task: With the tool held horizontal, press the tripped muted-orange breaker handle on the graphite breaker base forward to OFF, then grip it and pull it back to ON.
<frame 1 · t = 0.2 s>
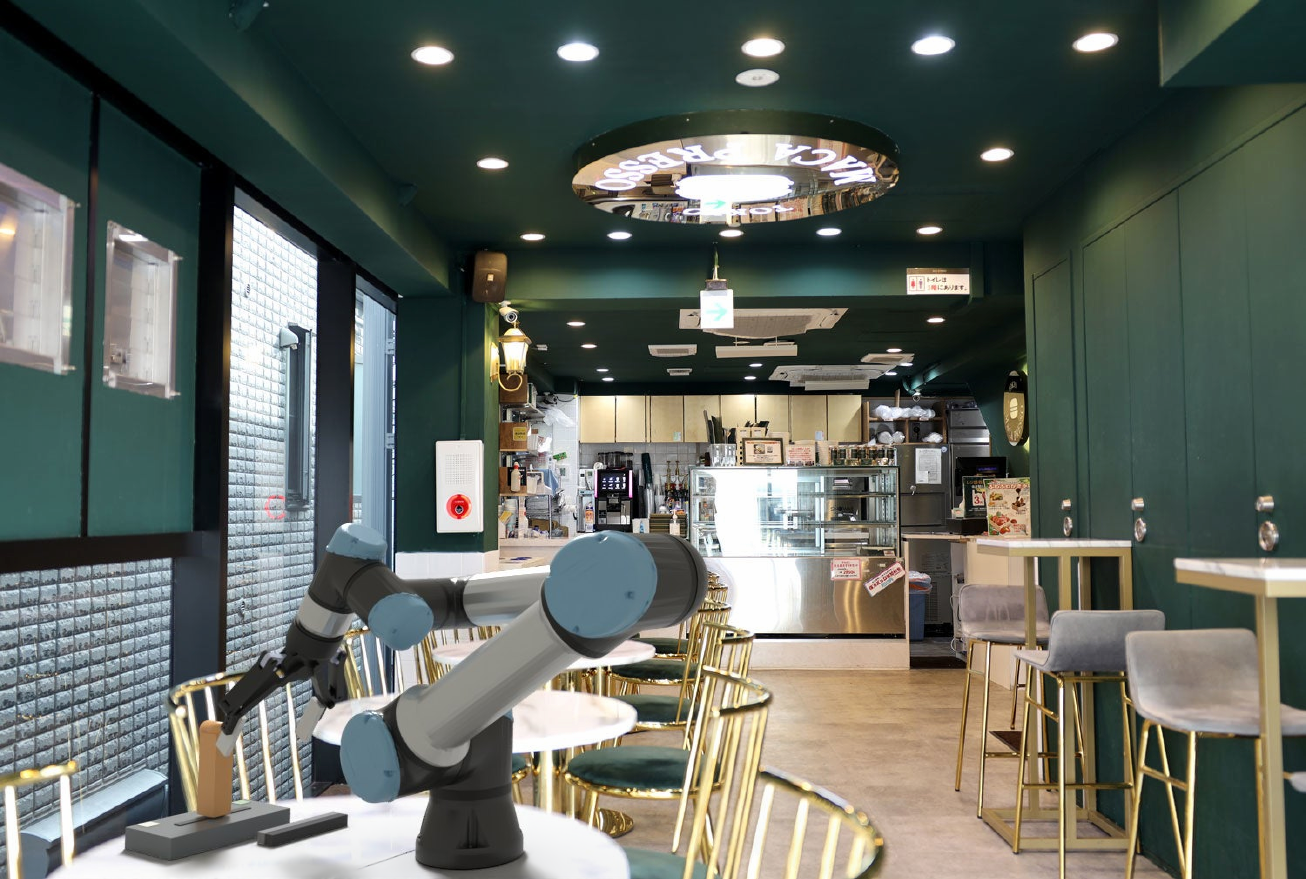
hand: (263, 743, 155), 14 cm above the table, tool tilted 35°, fingers open, 13 cm apart
breaker handle: (215, 767, 159), point 10 cm above the table, slide at 4.5 cm
grooved grey bar: (303, 833, 160), on the table
breaker base: (210, 837, 158), on the table
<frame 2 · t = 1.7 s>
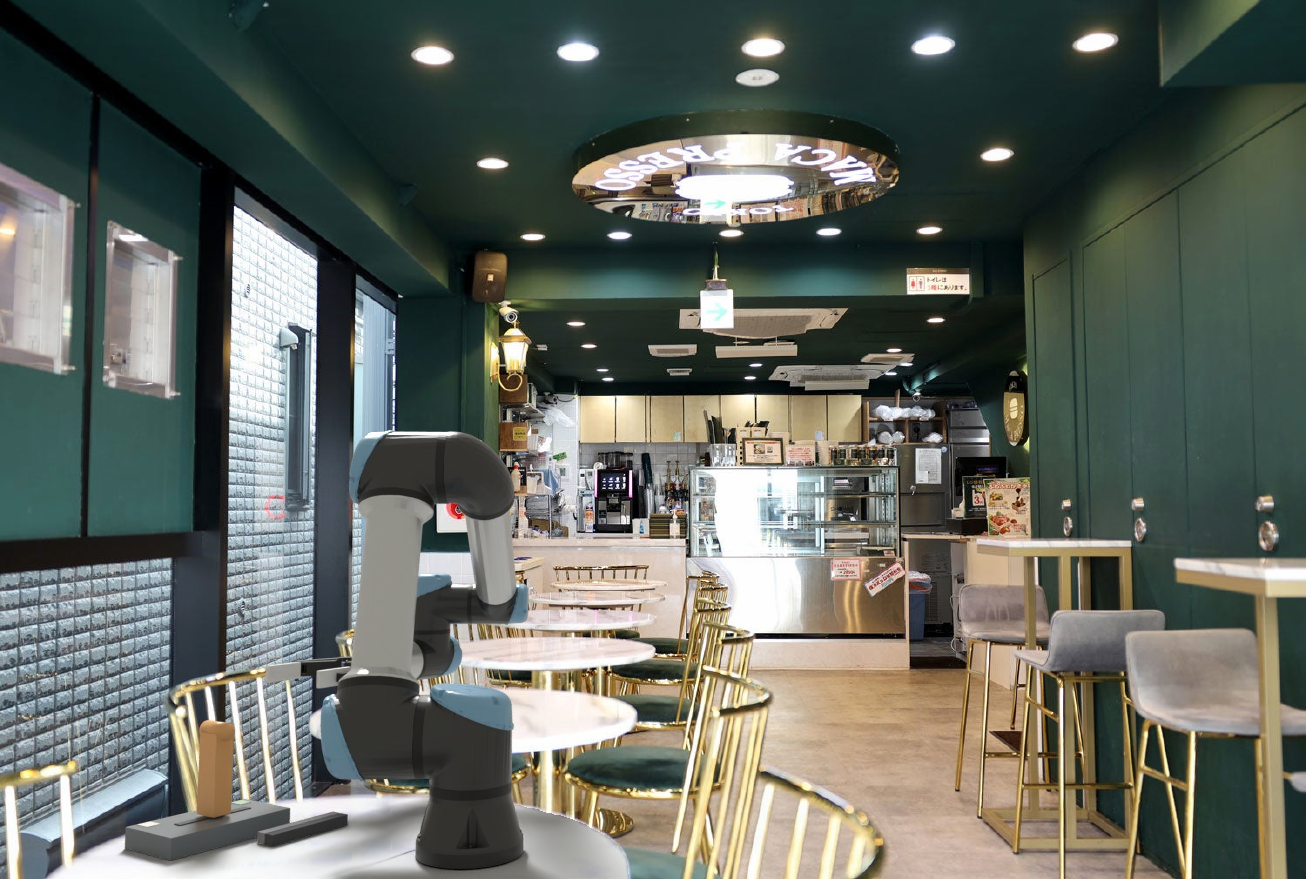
hand: (292, 676, 171), 22 cm above the table, tool horizontal, fingers open, 12 cm apart
nothing on the table moved.
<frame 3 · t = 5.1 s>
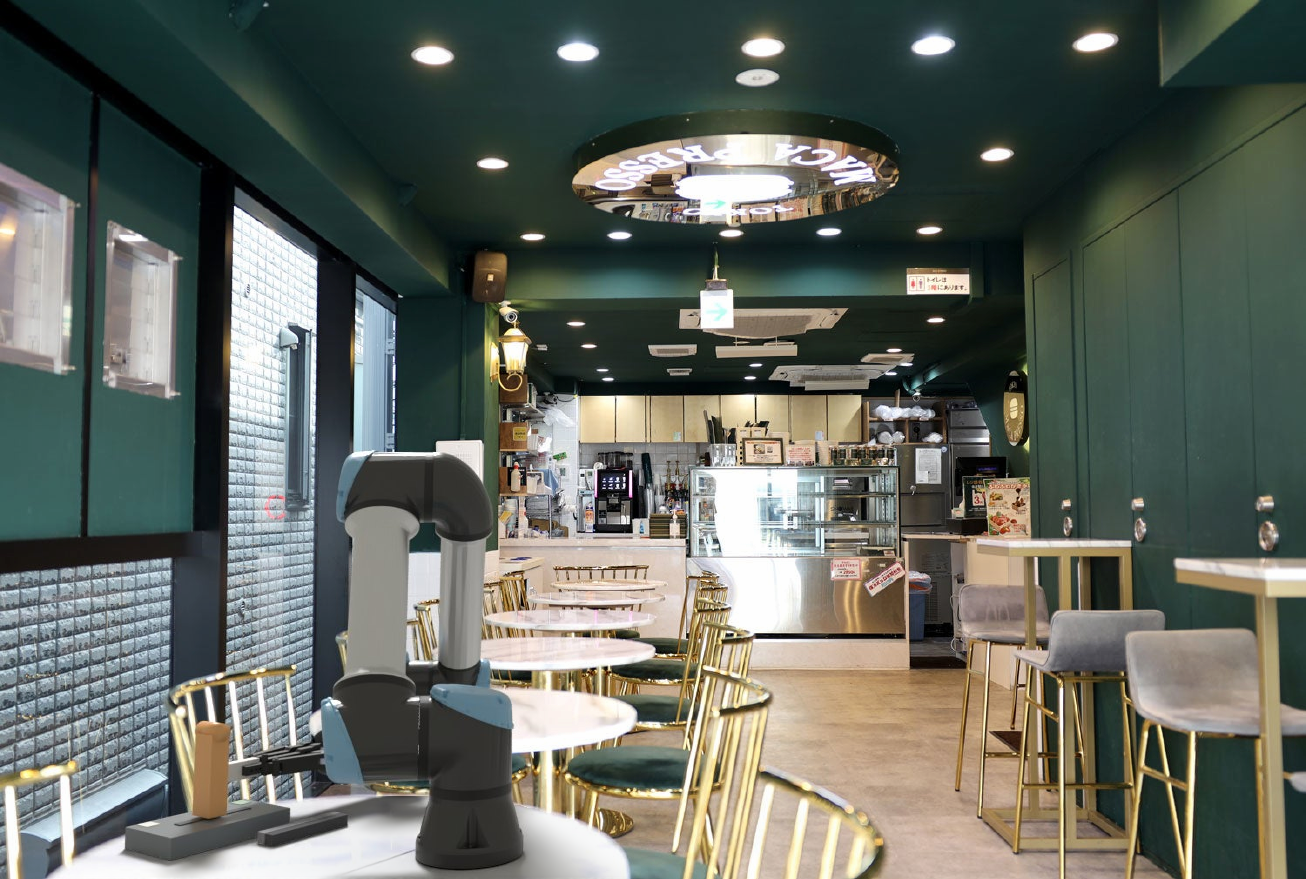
hand: (219, 773, 160), 9 cm above the table, tool horizontal, fingers closed
breaker handle: (211, 768, 158), point 10 cm above the table, slide at 5.2 cm, touching gripper
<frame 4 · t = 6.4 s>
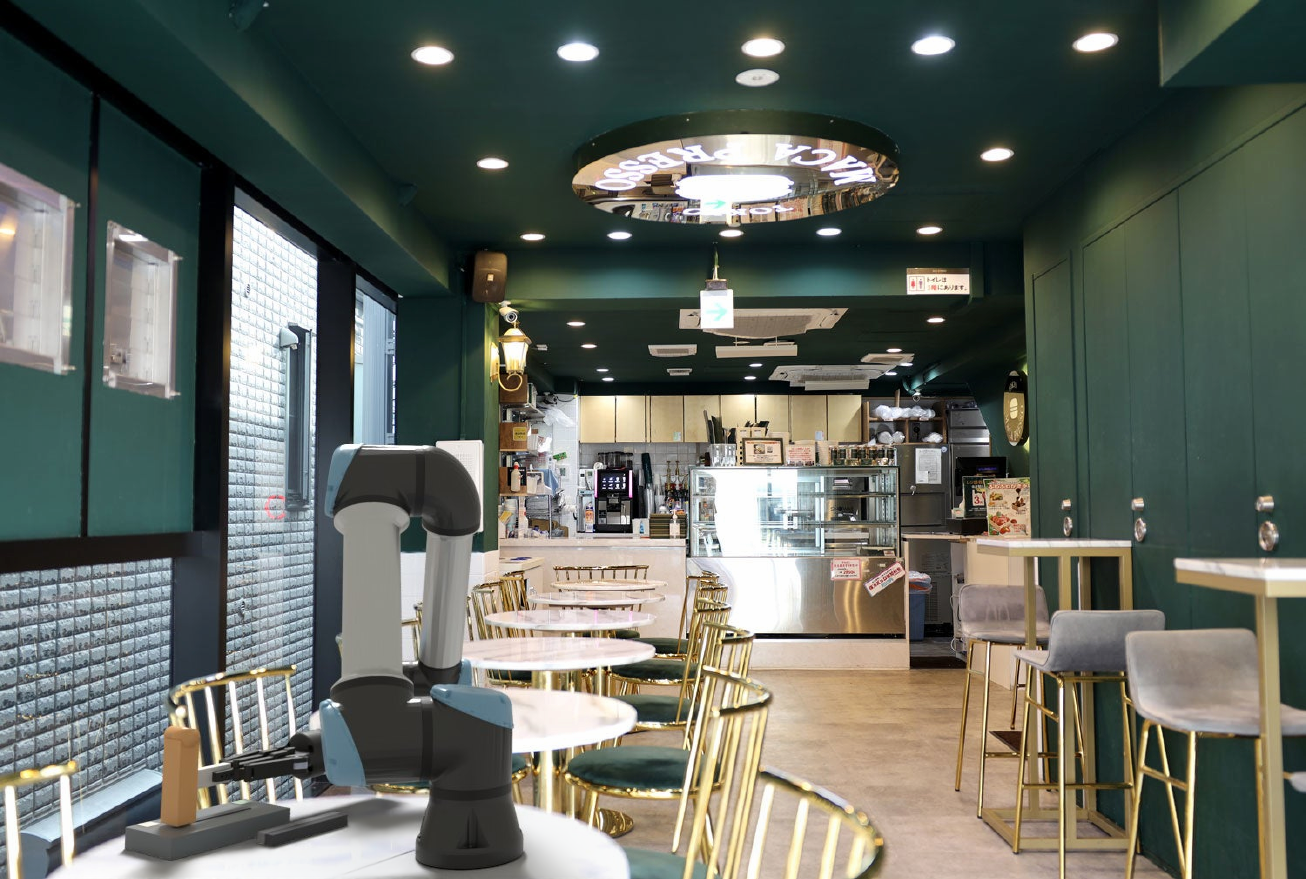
hand: (188, 780, 156), 9 cm above the table, tool horizontal, fingers closed
breaker handle: (180, 774, 154), point 10 cm above the table, slide at 10.3 cm, touching gripper
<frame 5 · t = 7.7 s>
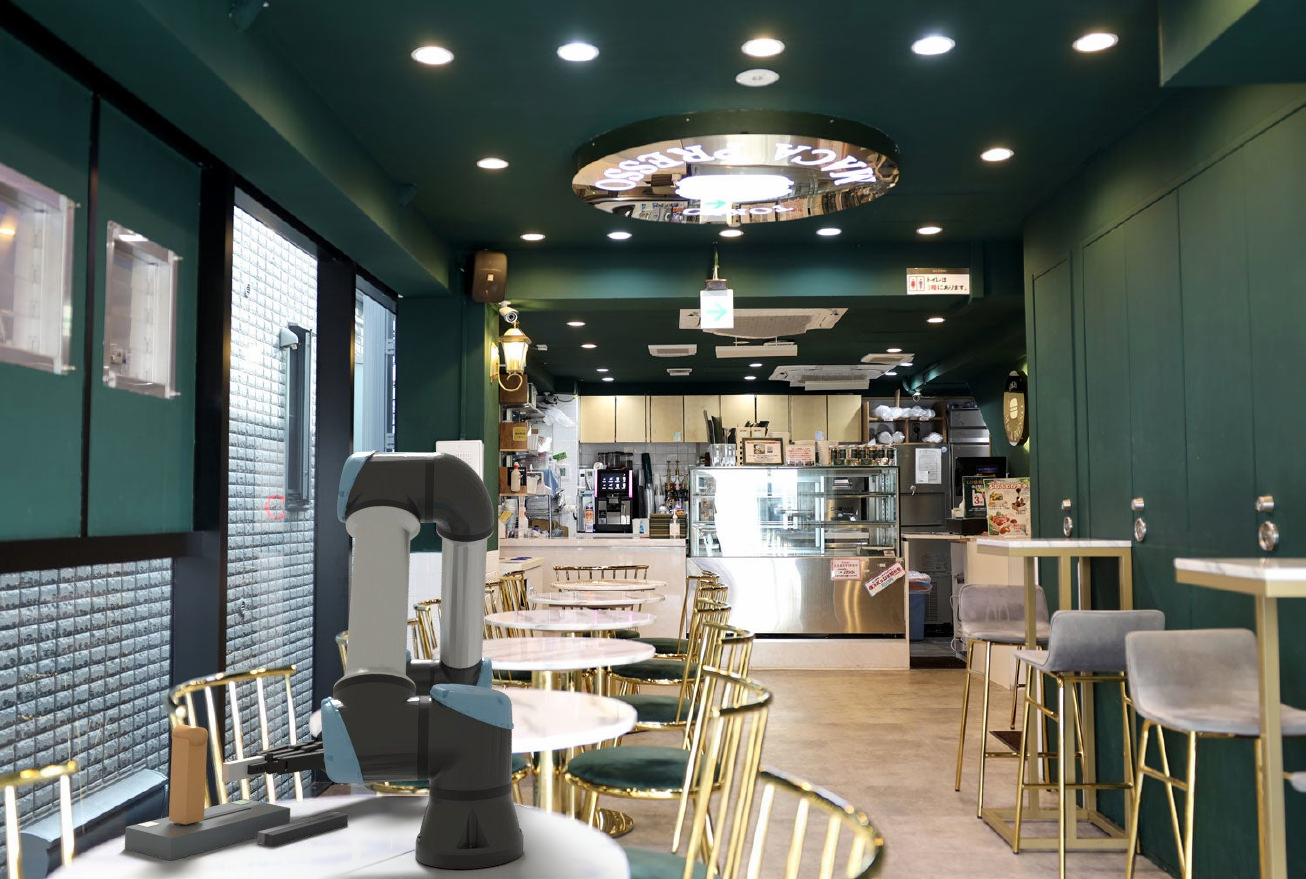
hand: (225, 772, 160), 9 cm above the table, tool horizontal, fingers closed
breaker handle: (188, 772, 155), point 10 cm above the table, slide at 9.0 cm
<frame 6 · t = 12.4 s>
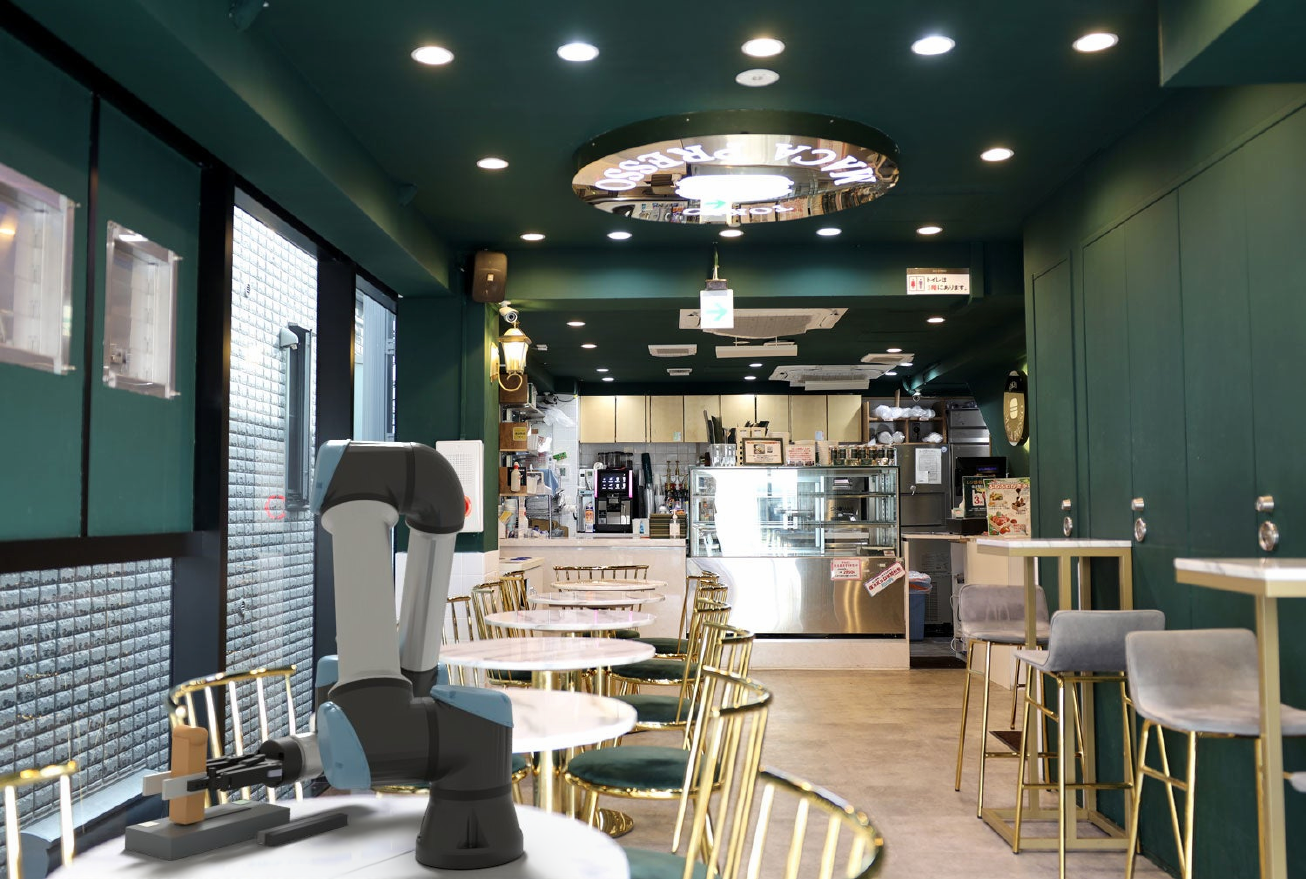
hand: (154, 787, 151), 9 cm above the table, tool horizontal, fingers closed on breaker handle, 4 cm apart
breaker handle: (188, 772, 155), point 10 cm above the table, slide at 9.0 cm, touching gripper
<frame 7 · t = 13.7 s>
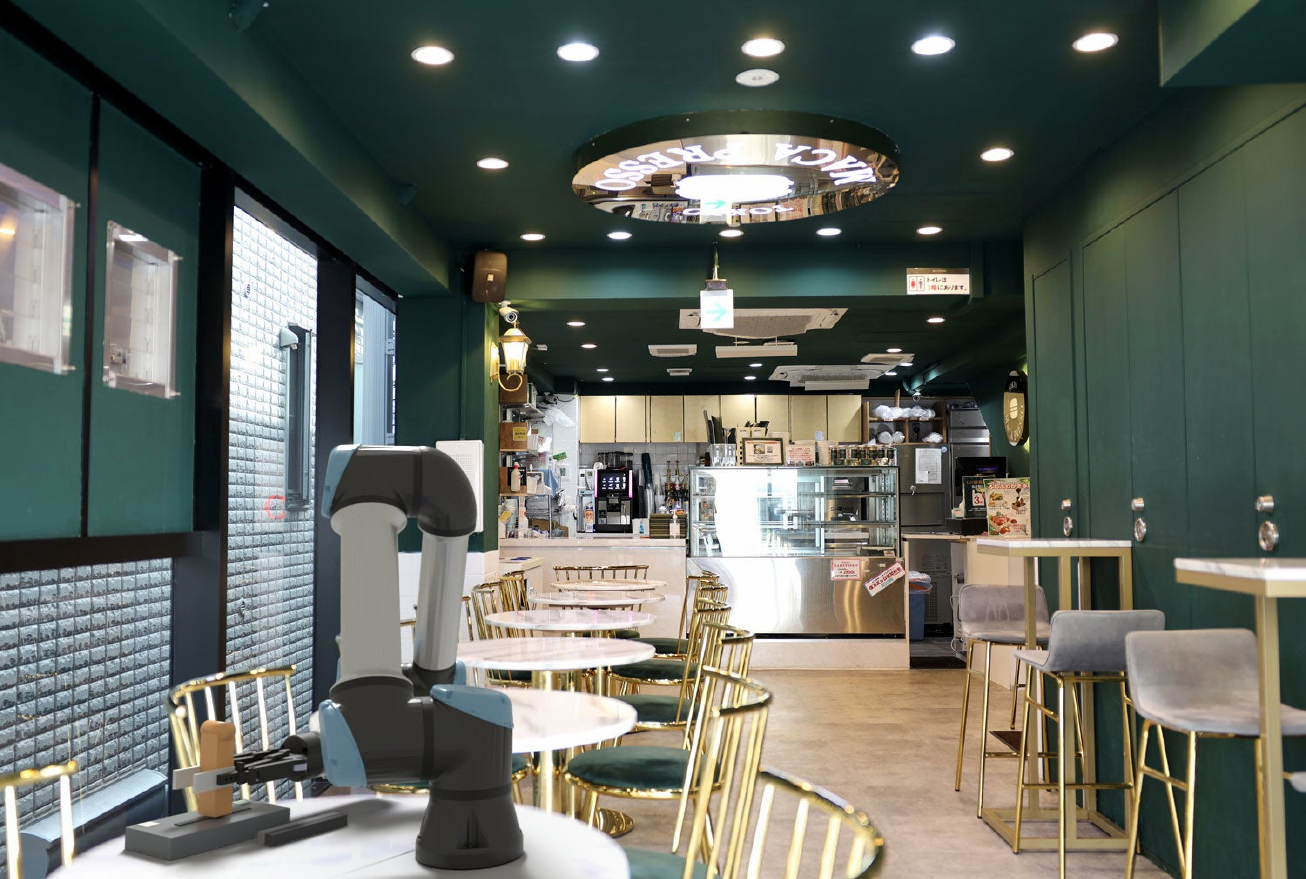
hand: (184, 781, 154), 9 cm above the table, tool horizontal, fingers closed on breaker handle, 4 cm apart
breaker handle: (216, 767, 159), point 10 cm above the table, slide at 4.3 cm, touching gripper
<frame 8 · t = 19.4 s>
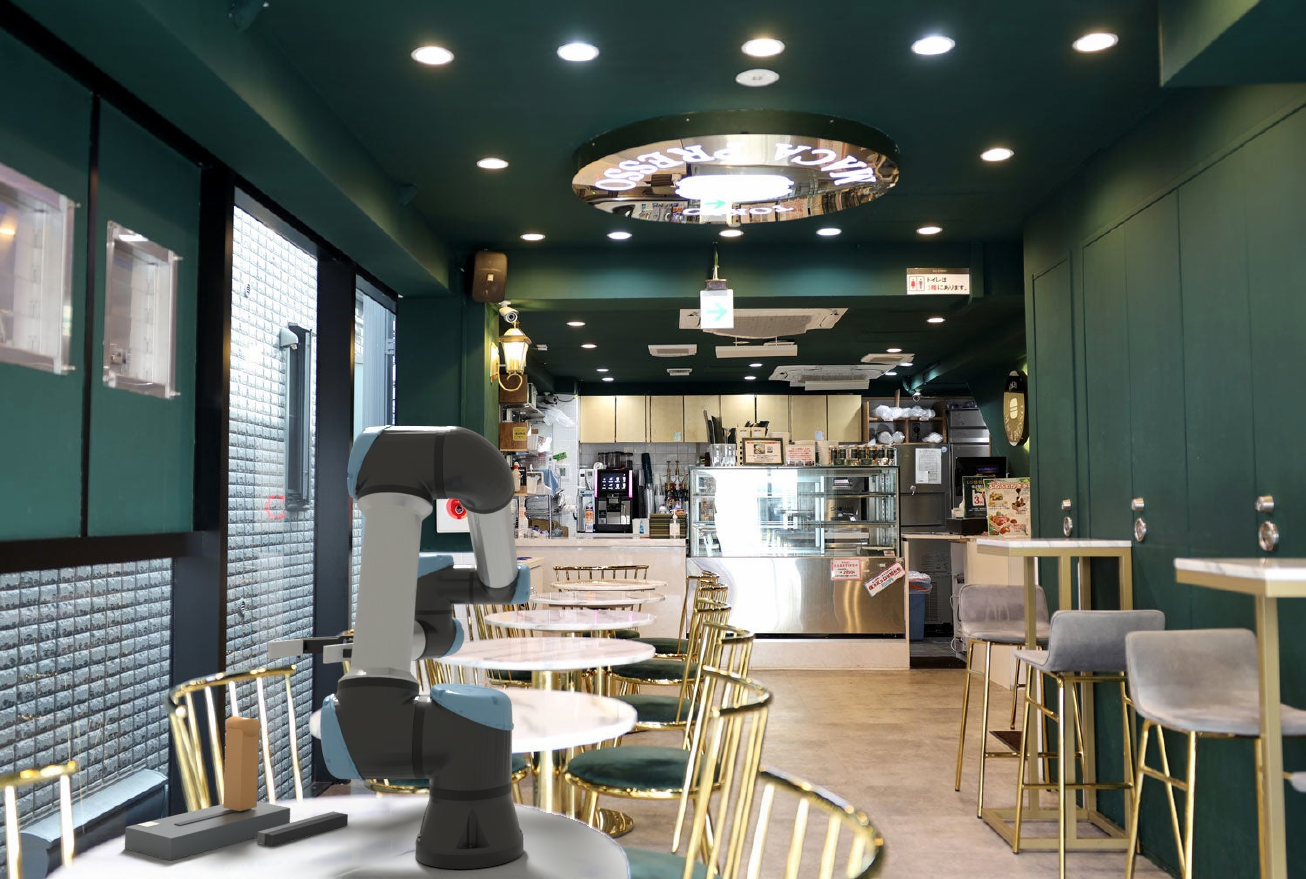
hand: (296, 652, 172), 26 cm above the table, tool horizontal, fingers open, 13 cm apart
breaker handle: (241, 762, 163), point 10 cm above the table, slide at 0.0 cm
at the end: breaker handle slide at 0.0 cm; the gripper is holding nothing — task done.
